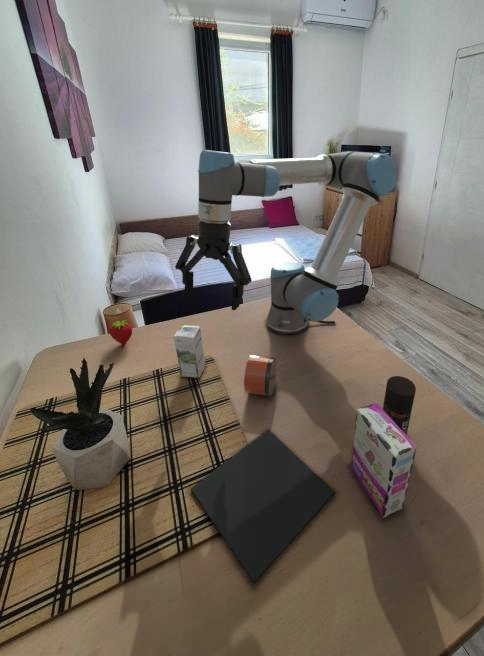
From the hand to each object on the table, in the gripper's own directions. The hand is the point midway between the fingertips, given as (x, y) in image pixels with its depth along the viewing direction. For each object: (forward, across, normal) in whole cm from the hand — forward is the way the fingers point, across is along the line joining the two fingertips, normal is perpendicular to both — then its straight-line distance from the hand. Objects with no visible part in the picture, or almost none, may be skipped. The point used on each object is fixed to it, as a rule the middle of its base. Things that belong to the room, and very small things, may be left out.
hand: (211, 302), depth 83 cm
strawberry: (+27, -36, +6) cm, 46 cm away
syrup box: (+25, -7, +2) cm, 26 cm away
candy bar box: (+23, +47, -15) cm, 54 cm away
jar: (+18, +15, +2) cm, 24 cm away
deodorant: (+21, +50, -2) cm, 54 cm away
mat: (+25, +26, -23) cm, 43 cm away
